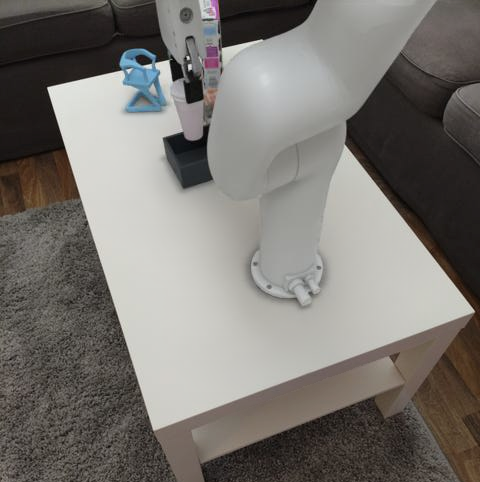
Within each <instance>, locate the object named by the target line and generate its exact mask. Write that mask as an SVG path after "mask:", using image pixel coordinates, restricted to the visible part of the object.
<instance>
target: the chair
mask: <svg viewBox="0 0 480 482" xmlns="http://www.w3.org/2000/svg"><path fill="white" fill-rule="evenodd" d="M139 55H143V56H145V57H148V58H149V59H150V60H152V61H151V68H147V67H145V66H143V65H141V64H140V63H138V62H137V59H136V57H137V56H139ZM156 59H157V55H156V54H153V53H152V52H150V51H148V50H147V49H145V48H132V49H128V50H126V51H124V52H123V53H122V56H121V57H120V61H119V67H120V69H121V71H122V72H123V74H124V78H123V79H122V85H123V86H128V87H132V88H135V89H137V92H136V93H135V94H134V95H133V96H132V98H131V99H130V100H129V102H128V104H127V105H126V106H125V107H124V108H125V112H126V113H140V112H162V110H163V109H162V106H167V102H166V99H165V97H164V94H163V90H162V87H161V83H160V79H159V76H160V75H161V73H162V72H161V69H157V67H156ZM127 69H130V72H128V70H127ZM152 86H154V89H155V92H156V94H157V96H155V95H153V94H152V93H151V91H150V89H151V87H152ZM139 97H143V98H146V99H148V100H149V101H150V103H152V104H151V105H150V104H149V105H137V106H135V103H136V102H137V100H138V99H139Z"/></svg>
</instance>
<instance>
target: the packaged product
mask: <svg viewBox="0 0 480 482" xmlns="http://www.w3.org/2000/svg"><path fill="white" fill-rule="evenodd" d="M217 89H218V87H217V88H213V89H208V90H205V94H204V99H203V119H204V120H205V121H206V124H211V119H212V114H213V109H214V104H215V99H216V94H217Z"/></svg>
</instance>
